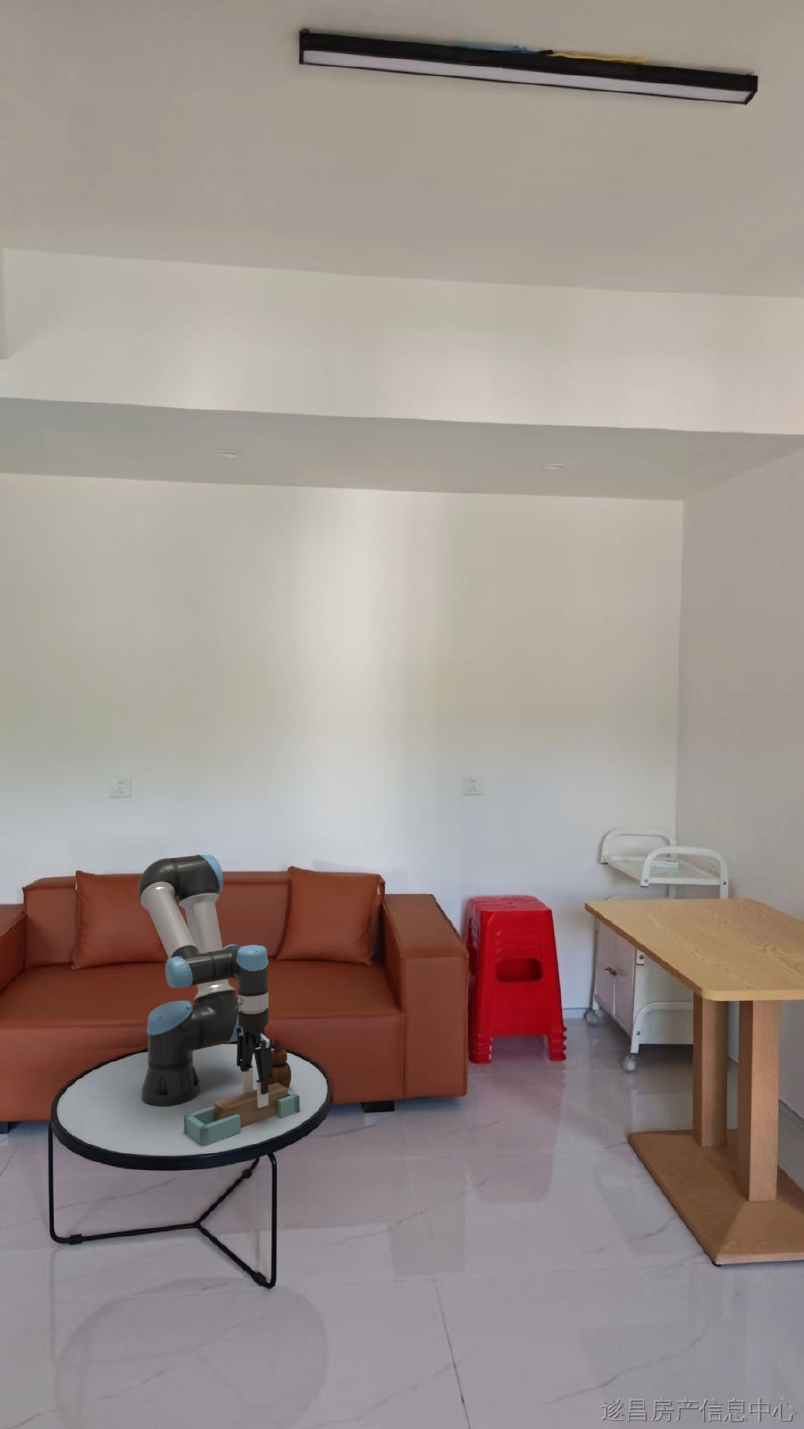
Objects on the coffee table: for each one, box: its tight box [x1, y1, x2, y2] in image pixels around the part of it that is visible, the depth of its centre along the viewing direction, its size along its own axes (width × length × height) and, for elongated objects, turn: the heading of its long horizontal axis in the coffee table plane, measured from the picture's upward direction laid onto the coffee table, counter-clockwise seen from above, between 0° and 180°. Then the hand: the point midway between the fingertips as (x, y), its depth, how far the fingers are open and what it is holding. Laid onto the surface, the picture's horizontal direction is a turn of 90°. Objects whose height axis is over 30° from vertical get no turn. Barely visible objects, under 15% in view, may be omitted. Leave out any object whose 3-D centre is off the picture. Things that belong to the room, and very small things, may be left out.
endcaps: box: [183, 1088, 301, 1147], centre depth 213 cm, size 10×27×4 cm, turn 130°
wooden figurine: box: [268, 1037, 292, 1089], centre depth 230 cm, size 7×6×15 cm
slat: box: [213, 1083, 289, 1129], centre depth 215 cm, size 5×18×6 cm, turn 129°
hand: (255, 1101), depth 215 cm, fingers open, 7 cm apart
